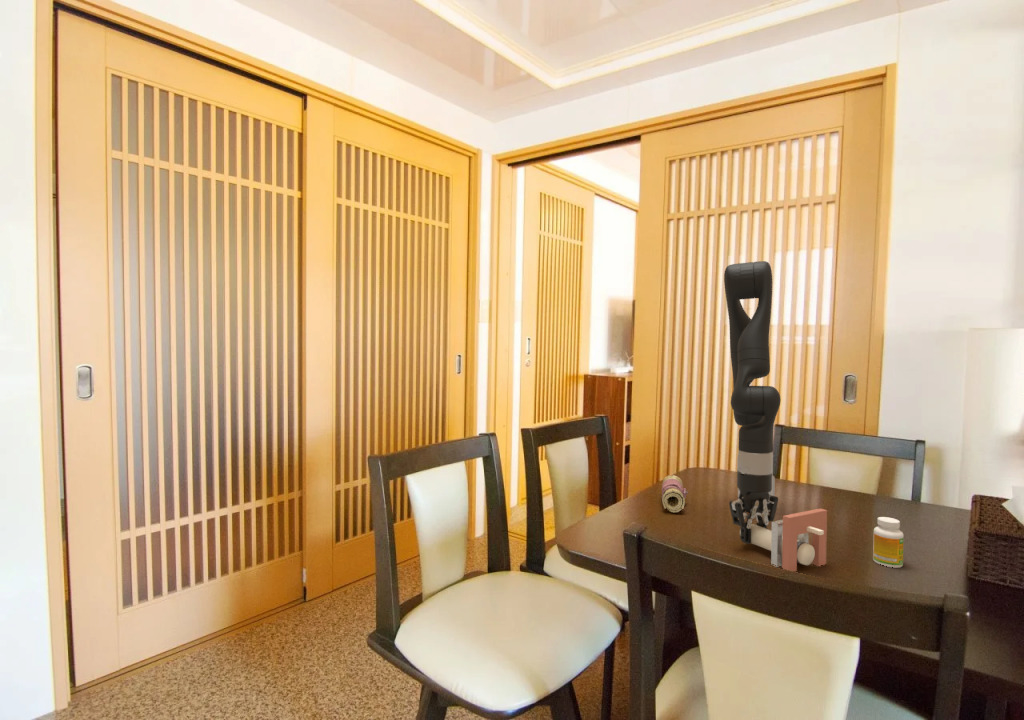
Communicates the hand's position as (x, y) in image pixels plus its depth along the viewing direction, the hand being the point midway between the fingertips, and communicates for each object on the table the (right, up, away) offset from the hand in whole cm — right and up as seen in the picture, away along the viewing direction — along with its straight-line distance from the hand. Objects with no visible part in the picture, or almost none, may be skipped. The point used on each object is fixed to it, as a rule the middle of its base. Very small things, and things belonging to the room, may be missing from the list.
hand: (753, 540), depth 124 cm
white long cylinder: (+3, -1, -5) cm, 6 cm away
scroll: (-8, -1, +34) cm, 35 cm away
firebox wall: (+6, -2, -13) cm, 15 cm away
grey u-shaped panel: (+4, -2, -8) cm, 10 cm away
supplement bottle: (+25, -2, -9) cm, 27 cm away
